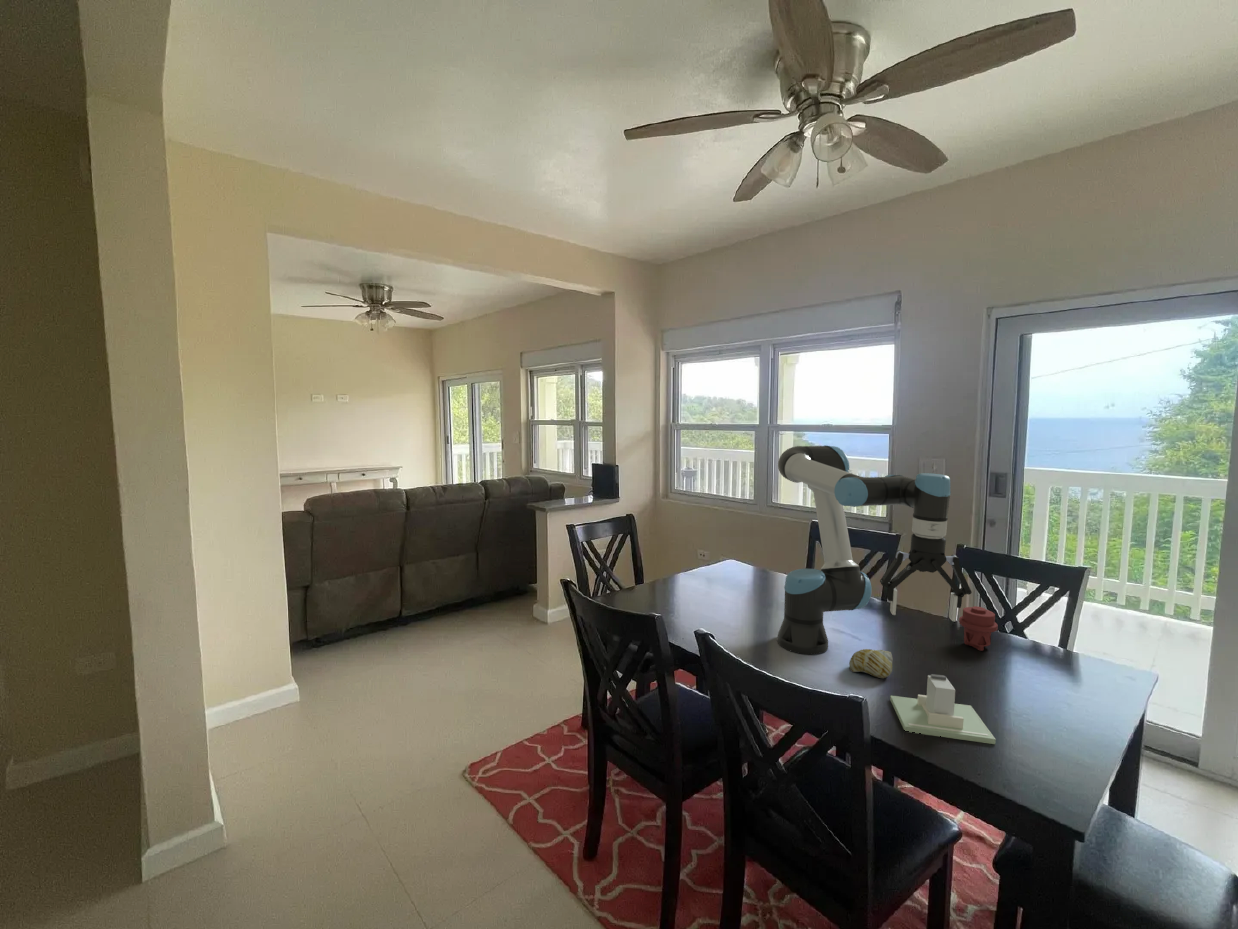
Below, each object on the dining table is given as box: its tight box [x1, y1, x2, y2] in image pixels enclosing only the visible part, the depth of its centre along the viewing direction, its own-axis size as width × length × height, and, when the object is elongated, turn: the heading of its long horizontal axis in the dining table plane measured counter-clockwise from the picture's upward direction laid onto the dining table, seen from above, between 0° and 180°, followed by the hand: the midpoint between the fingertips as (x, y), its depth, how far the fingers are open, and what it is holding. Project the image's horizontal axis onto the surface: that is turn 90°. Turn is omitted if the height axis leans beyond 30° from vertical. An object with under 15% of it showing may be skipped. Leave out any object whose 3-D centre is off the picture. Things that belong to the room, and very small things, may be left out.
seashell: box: [848, 648, 894, 679], centre depth 147 cm, size 10×10×10 cm
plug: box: [926, 673, 956, 716], centre depth 124 cm, size 4×6×9 cm, turn 165°
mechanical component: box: [958, 605, 998, 652], centre depth 165 cm, size 12×10×10 cm
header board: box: [889, 694, 997, 745], centre depth 124 cm, size 18×14×4 cm
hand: (921, 616), depth 134 cm, fingers open, 13 cm apart
